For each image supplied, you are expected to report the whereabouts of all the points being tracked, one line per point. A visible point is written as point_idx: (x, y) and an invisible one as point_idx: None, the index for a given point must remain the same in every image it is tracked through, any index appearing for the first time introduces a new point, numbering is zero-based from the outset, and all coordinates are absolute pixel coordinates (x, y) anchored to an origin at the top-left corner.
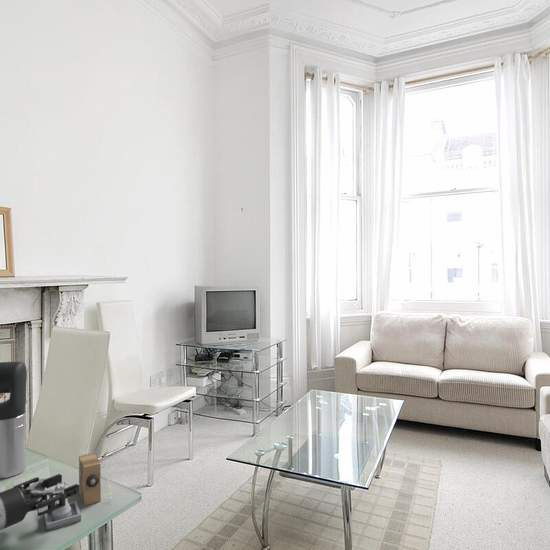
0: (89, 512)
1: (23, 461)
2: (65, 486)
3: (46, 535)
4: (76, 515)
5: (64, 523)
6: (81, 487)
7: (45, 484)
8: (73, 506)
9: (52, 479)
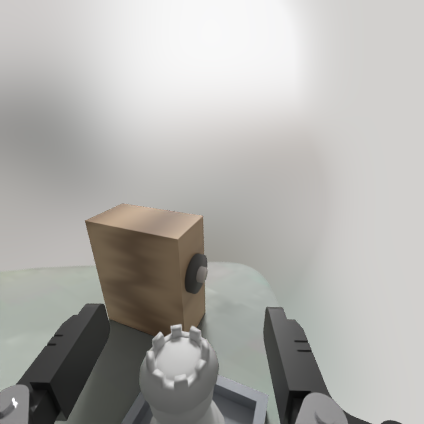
0: (234, 359)
1: None
2: (207, 348)
3: None
4: (261, 410)
5: None
6: (139, 305)
7: (47, 412)
8: None
9: (76, 352)
